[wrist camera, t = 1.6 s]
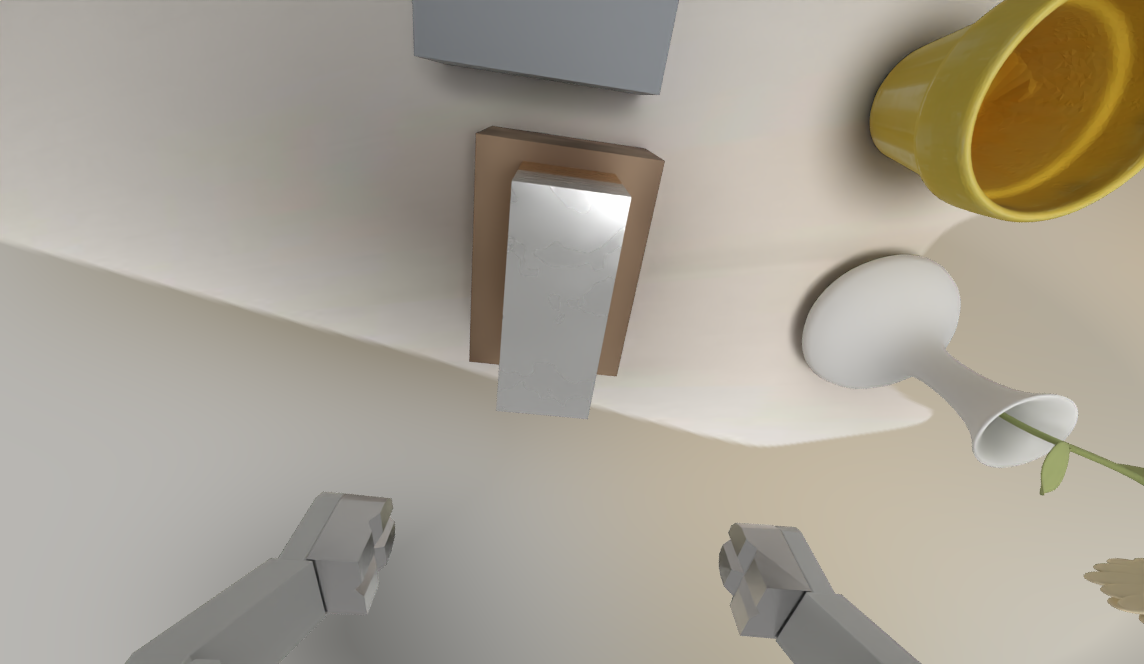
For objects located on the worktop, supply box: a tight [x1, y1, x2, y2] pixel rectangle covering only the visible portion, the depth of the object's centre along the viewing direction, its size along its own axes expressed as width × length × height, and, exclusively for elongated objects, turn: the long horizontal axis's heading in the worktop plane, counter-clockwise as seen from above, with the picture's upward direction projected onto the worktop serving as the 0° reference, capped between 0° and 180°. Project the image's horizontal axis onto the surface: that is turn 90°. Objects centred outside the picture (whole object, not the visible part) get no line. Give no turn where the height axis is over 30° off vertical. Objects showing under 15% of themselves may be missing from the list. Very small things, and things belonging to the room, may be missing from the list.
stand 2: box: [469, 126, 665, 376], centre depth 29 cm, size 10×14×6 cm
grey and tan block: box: [496, 161, 631, 419], centre depth 23 cm, size 5×12×6 cm, turn 172°
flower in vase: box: [802, 255, 1144, 624], centre depth 24 cm, size 13×11×25 cm
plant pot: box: [870, 0, 1144, 222], centre depth 23 cm, size 10×10×10 cm
